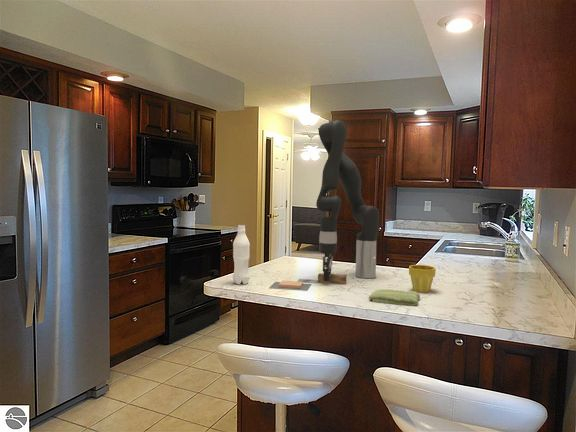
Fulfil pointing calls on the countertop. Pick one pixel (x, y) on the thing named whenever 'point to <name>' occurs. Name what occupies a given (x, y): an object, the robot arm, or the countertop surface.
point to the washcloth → (395, 297)
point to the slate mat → (303, 288)
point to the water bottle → (241, 256)
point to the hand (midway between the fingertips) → (327, 278)
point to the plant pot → (422, 277)
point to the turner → (332, 280)
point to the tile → (291, 284)
